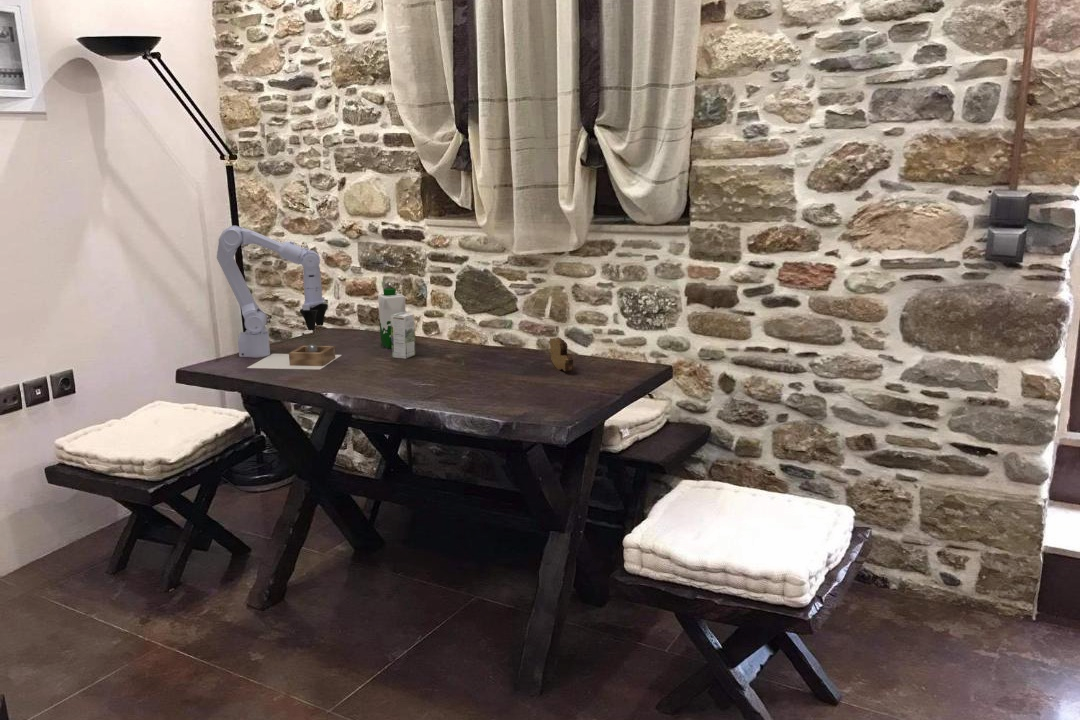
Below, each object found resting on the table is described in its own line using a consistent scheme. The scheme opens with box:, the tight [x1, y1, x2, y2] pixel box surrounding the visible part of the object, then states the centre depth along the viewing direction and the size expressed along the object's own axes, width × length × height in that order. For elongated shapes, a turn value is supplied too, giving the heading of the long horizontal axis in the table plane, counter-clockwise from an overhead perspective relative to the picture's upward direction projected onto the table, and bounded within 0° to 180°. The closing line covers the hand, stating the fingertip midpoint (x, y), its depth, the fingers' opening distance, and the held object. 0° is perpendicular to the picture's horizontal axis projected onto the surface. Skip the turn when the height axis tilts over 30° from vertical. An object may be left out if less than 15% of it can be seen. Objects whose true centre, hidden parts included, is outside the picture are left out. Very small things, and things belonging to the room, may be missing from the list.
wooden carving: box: [548, 336, 574, 372], centre depth 273 cm, size 16×5×10 cm, turn 23°
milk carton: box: [377, 287, 407, 350], centre depth 307 cm, size 9×9×20 cm
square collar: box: [288, 345, 336, 366], centre depth 282 cm, size 11×11×4 cm
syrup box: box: [391, 312, 416, 359], centre depth 291 cm, size 6×6×14 cm
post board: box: [246, 344, 342, 370], centre depth 283 cm, size 24×20×6 cm
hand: (315, 327), depth 295 cm, fingers open, 7 cm apart
